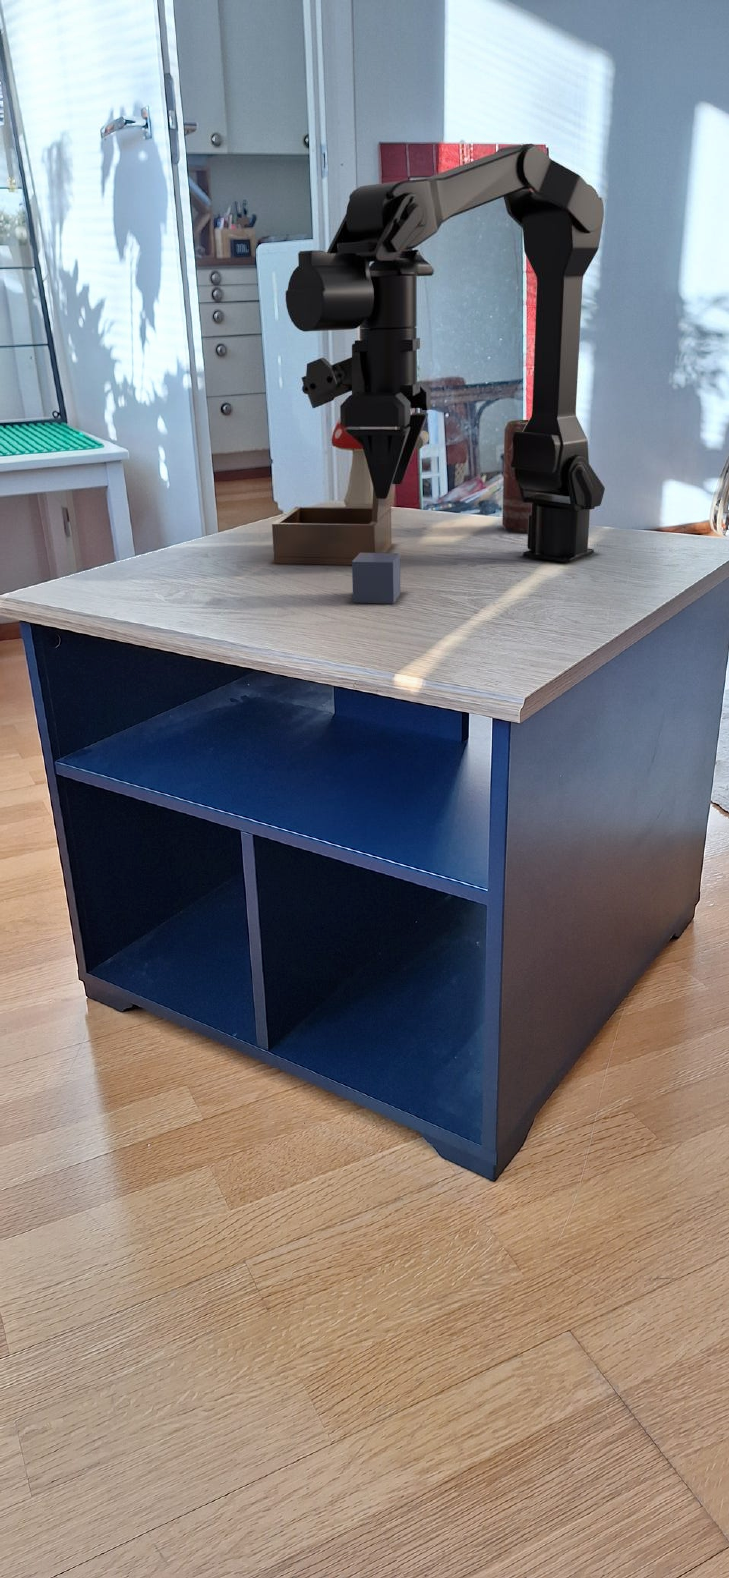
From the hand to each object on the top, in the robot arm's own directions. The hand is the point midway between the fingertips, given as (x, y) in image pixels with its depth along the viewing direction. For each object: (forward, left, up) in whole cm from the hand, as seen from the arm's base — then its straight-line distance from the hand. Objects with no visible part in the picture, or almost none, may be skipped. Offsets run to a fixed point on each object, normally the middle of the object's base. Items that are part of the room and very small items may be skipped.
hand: (389, 491), depth 115 cm
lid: (+13, -16, +1) cm, 21 cm away
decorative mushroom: (+35, -39, -11) cm, 53 cm away
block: (+1, +1, -11) cm, 11 cm away
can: (+7, -39, -11) cm, 41 cm away
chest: (+19, -13, -11) cm, 26 cm away
